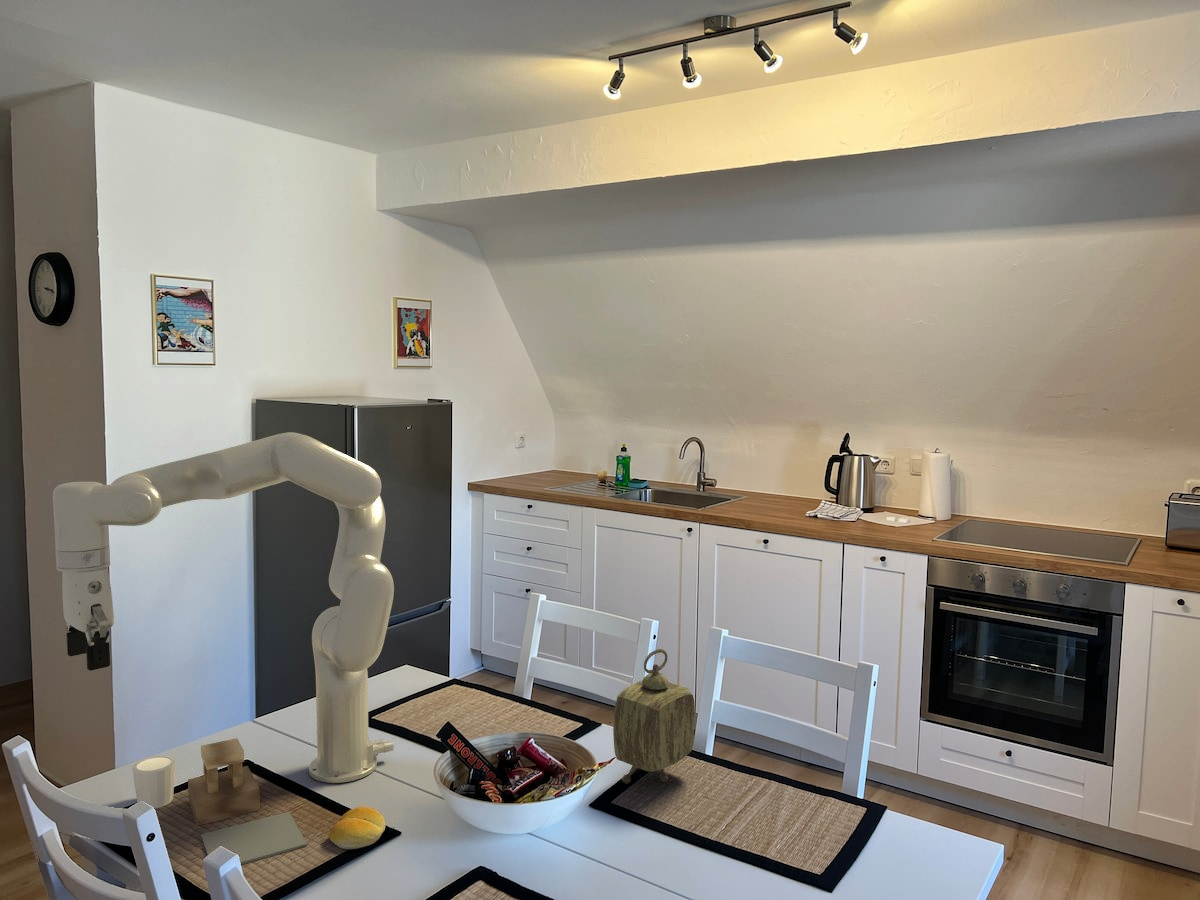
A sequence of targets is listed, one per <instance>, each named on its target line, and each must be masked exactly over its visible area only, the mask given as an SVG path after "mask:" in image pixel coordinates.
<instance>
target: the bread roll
mask: <svg viewBox="0 0 1200 900" xmlns="http://www.w3.org/2000/svg"><path fill="white" fill-rule="evenodd" d="M385 829H386V820H385V818H384V816H383V815H382V814H381V813H380V812H379V811H378V810H377V809H375V808H373V807H369V806H357V807H355V808H352V809H349V810H348V811H346V812H344V813H343V815H341V817H340V819H339V820H338V822H336V823H335V824H334V825H333V826H332V827H331V828H330V831H329V833H328V834H329V836H328V837H329V840H330V842H331V843H333V844H334V845H335V846H337V847H338V848H340V849H344V850H356V849H361V848H365V847H368V846H371V845H373V844H376V842H377V841H379V840H380V838H381V836H382V834H383V833H384V832H385Z"/></svg>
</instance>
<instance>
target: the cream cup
mask: <svg viewBox="0 0 1200 900" xmlns="http://www.w3.org/2000/svg"><path fill="white" fill-rule="evenodd" d="M131 770H132V776H133V783H134V788H135V797H136V802H138V801H144V802H146V803H148V804H150V805H152V806H153V807H154V808H155V809H158V808H163V807H164V806H165V807H166V806H167V805H169V804H171V802H172V801H173V799H174V790H175V789H174V788H175V774H176V773H175V772H176V758H175V757H174V756H170V755H156V756H150V757H146V758H144V759H141V760H139V761H137V762H135V764H133V766H132V769H131Z"/></svg>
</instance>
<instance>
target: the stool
mask: <svg viewBox="0 0 1200 900" xmlns="http://www.w3.org/2000/svg"><path fill="white" fill-rule="evenodd" d="M200 755H201V756H200V757H201V759H202V762H203V763H202V764H203V767H202V769H203V776H204V783H205V785H206V784H207V789H208V793H209V794H212V793H216V792H218V771H219V768H222V767H227V770H228V777H229V779H232V785H233V787H234V788H237V787H241V786H243V768H242V767H243V763H245V750H244V749H243V746H242V745H241V743H240V741H239V739H238V738H237V737H236V738H232V739H226V740H222V741H217V742H212V743H208V744H203V745H200Z"/></svg>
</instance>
